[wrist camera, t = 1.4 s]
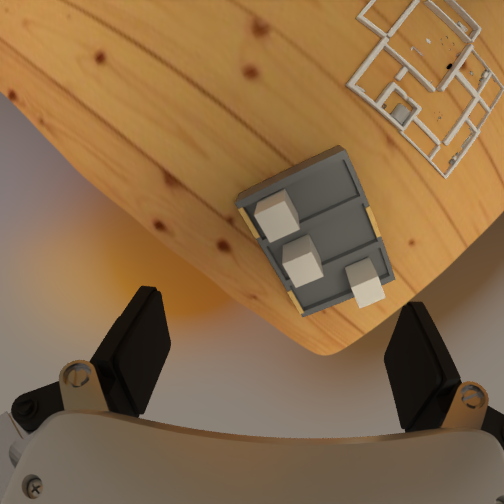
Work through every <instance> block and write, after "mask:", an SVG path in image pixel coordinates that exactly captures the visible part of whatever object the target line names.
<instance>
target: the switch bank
mask: <svg viewBox="0 0 504 504" xmlns="http://www.w3.org/2000/svg"><path fill="white" fill-rule="evenodd" d="M284 188H285V190H286V192H287V194H288V195H289V197H290V199H291V201H292V203H293V205H294V207H295V209H296V211H297V213H298V217H299V227H300V230H297V231H295V232H293V233H291V234H289V235H286V236H284V237H282V238H280V239H278V240H275V241H273V242H271V243H270V242H269V240H268V239H267V237H266V235H265V233H264V232H263V230H262V228H261V227H260V225H259V223H258V221H257V220H256V218H255V216H254V213H255V210H256V206H257V202H258V201H259V200H261V199H263V198H265V197H267V196H269V195H271V194H273V193H275V192H277V191H279V190H282V189H284ZM235 204H236V206H237V208H238V210H239V212H240V214H241V215H242V217H243V219H244V220H245V222H246V224H247V225H248V227H249V229H250V230H251V232H252V234H253V235H254V237H255V239H257V241H258V243H259V244H260V246H261V248H262V249H263V251H264V253H265V254H266V256H267V258H268V259H269V261H270V263H271V265H272V266H273V268H274V270H275V271H276V273H277V275H278V276H279V278H280V280H281V281H282V283H283V285H284V286H285V288H286V290H287V293H288V294H289V296H290V298H291V299H292V301H293V303H294V304H295V306H296V308H297V310H298V311H299V313H300V314H301V315H302V317H305V316H307V315H310V314H313V313H315V312H318V311H321V310H323V309H326V308H328V307H331V306H333V305H336V304H338V303H341V302H343V301H346V300H348V299H351V298H353V297H355V296H354V294H353V291H352V289H351V286H350V283H349V279H348V276H347V273H346V270H345V267H347V266H349V265H352V264H354V263H356V262H359V261H361V260H363V259H365V258H368V257H369V258H370V260H371V262H372V264H373V266H374V268H375V270H376V273H377V275H378V277H379V280H380V283H381V286H382V285H384V284H386V283H388V282H391V281H393V280H395V277H394V273H393V270H392V267H391V264H390V261H389V258H388V255H387V252H386V249H385V246H384V243H383V240H382V238H381V234H380V231H379V229H378V226H377V223H376V221H375V218H374V215H373V213H372V210H371V208H370V206H369V203H368V201H367V198H366V196H365V193H364V191H363V188H362V186H361V184H360V181H359V179H358V177H357V174H356V172H355V170H354V167H353V165H352V163H351V161H350V159H349V156H348V154H347V152H346V150H345V149H344V148H343V147H341V146H340V145H338V146H336V147H334V148H332V149H329V150H327V151H325V152H323V153H321V154H319V155H317V156H314V157H312V158H310V159H308V160H306V161H304V162H302V163H300V164H298V165H295V166H293V167H291V168H289V169H287V170H285V171H283V172H281V173H279V174H277V175H275V176H273V177H271V178H269V179H267V180H265V181H263V182H261V183H259V184H257V185H255V186H253V187H251V188H249V189H247V190H245V191H243V192H241V193H239V195H238V198H237V200H236V202H235ZM307 234H309V236H310V238H311V240H312V242H313V244H314V246H315V248H316V250H317V252H318V254H319V256H320V260H321V265H322V270H323V275H324V277H321V278H319V279H317V280H314V281H312V282H309V283H307V284H304V285H302V286H299V287H297V288H295V286H294V284H293V282H292V280H291V279H290V277H289V275H288V273H287V272H286V270H285V268H284V266H283V265H282V257H283V245H285V244H287V243H289V242H292V241H294V240H296V239H298V238H300V237H303V236H305V235H307Z"/></svg>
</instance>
